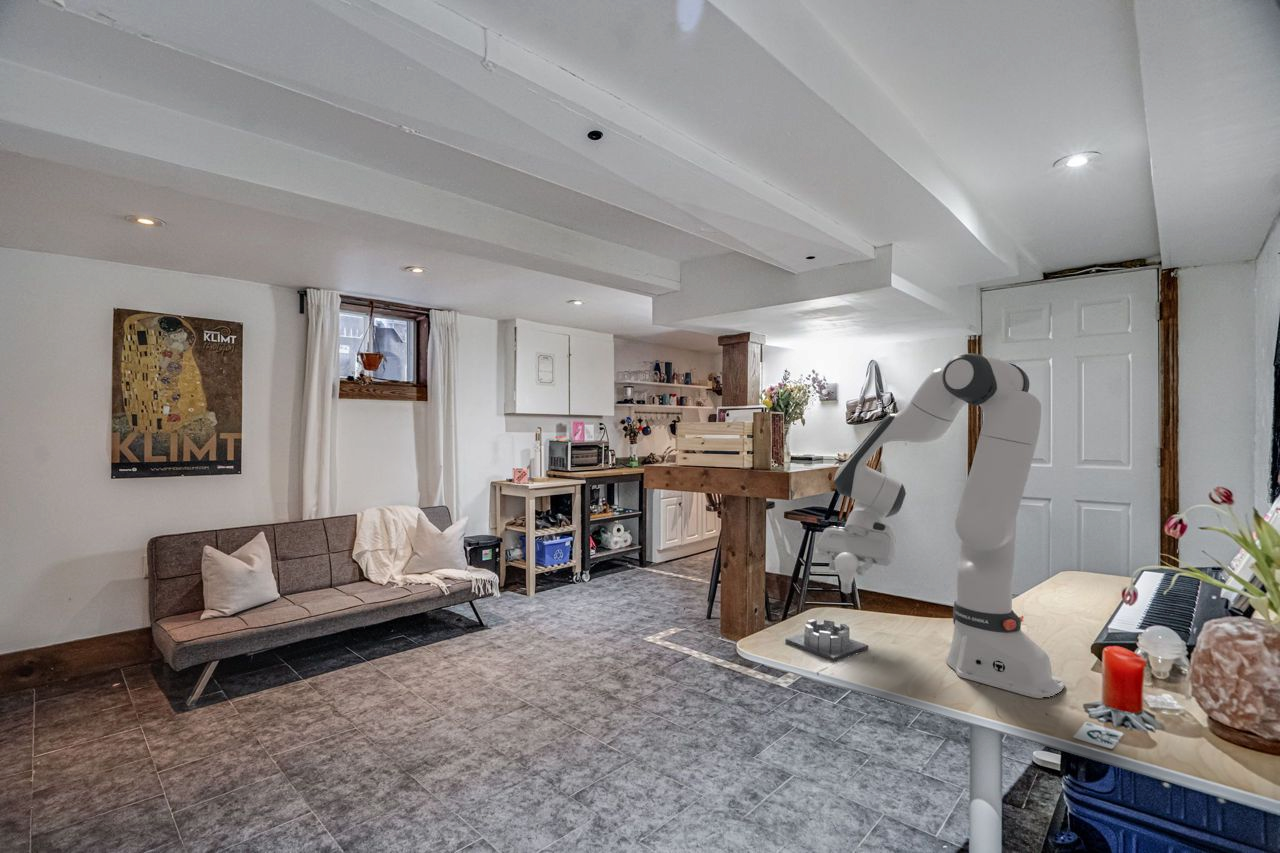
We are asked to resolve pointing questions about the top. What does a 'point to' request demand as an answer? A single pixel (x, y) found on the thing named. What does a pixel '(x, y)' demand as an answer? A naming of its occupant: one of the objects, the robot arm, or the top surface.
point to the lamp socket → (827, 640)
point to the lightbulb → (846, 569)
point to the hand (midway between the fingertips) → (845, 571)
